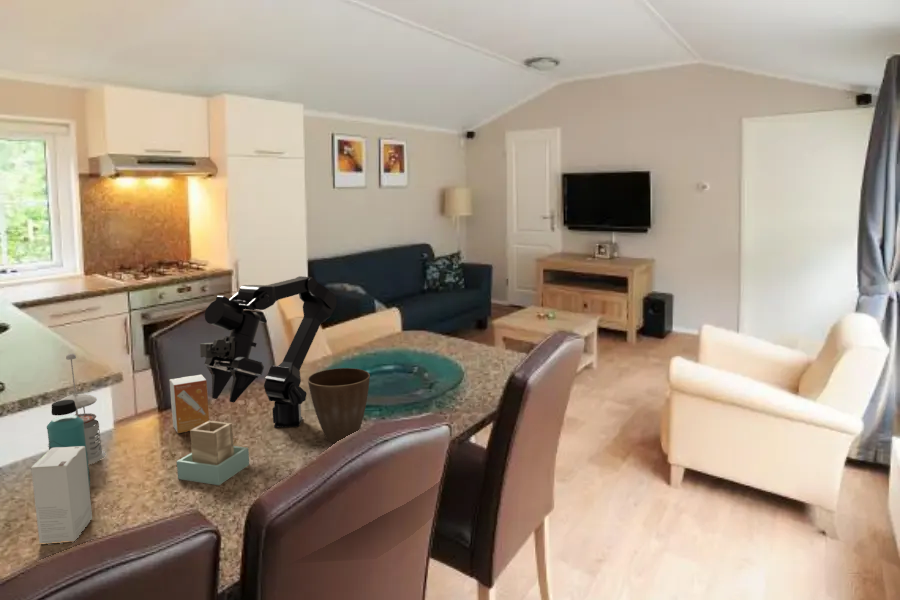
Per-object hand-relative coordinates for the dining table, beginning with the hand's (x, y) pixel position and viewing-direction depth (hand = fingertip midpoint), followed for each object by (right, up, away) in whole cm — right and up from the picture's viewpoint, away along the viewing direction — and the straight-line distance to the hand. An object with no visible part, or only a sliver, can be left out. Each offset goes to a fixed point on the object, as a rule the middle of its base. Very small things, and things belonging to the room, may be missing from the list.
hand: (222, 400), depth 142 cm
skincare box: (-16, -19, -32) cm, 41 cm away
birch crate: (+1, -14, -8) cm, 16 cm away
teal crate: (+1, -14, -8) cm, 16 cm away
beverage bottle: (-23, -17, -19) cm, 34 cm away
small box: (-15, -10, +18) cm, 26 cm away
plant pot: (+26, -11, +10) cm, 30 cm away
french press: (-32, -13, 0) cm, 35 cm away
